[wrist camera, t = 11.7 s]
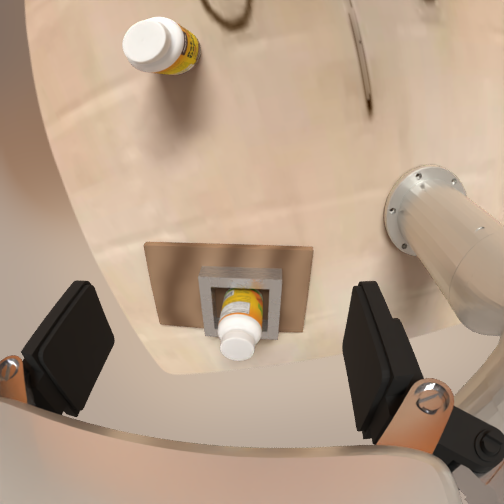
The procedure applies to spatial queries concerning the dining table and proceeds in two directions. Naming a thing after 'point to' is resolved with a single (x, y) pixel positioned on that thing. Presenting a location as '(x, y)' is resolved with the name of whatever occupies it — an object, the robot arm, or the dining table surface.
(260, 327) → the supplement bottle
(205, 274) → the collar
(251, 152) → the dining table surface
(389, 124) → the dining table surface
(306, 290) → the board
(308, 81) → the dining table surface
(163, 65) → the supplement bottle
